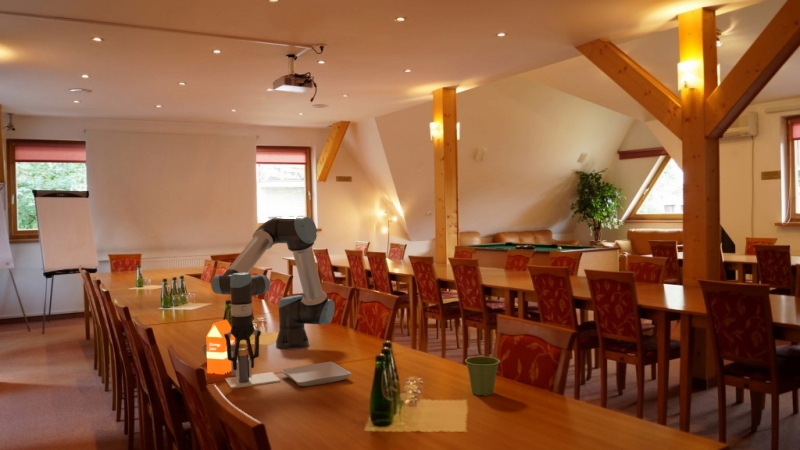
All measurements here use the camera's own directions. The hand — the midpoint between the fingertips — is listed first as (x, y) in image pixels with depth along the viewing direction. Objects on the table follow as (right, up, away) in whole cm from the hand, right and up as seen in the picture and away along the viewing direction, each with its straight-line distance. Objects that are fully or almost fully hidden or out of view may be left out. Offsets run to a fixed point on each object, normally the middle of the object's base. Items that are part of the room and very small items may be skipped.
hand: (243, 377), depth 232 cm
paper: (+2, -2, +3) cm, 4 cm away
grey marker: (-6, -2, +11) cm, 13 cm away
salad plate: (+26, -2, +4) cm, 27 cm away
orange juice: (-14, -2, +19) cm, 23 cm away
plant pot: (+86, -1, -19) cm, 88 cm away
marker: (0, -2, 0) cm, 2 cm away
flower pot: (-21, -2, +35) cm, 41 cm away
